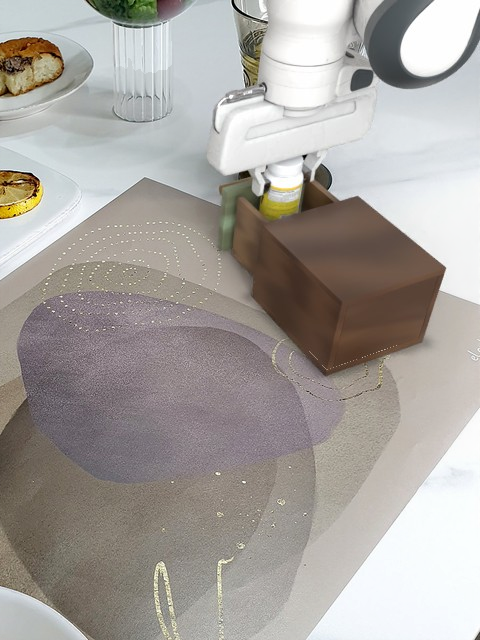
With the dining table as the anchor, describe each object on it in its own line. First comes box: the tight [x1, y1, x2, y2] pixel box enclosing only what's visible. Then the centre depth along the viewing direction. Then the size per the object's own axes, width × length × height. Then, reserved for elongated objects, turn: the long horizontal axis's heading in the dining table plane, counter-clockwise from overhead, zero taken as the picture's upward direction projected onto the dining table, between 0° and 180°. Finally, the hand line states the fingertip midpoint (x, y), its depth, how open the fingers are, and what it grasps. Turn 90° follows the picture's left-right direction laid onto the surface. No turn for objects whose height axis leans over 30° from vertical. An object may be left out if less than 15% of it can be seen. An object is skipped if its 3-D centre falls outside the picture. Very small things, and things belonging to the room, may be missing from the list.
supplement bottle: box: [259, 155, 304, 221], centre depth 103 cm, size 5×5×8 cm
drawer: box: [216, 172, 341, 278], centre depth 106 cm, size 19×12×9 cm, turn 23°
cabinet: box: [251, 195, 447, 377], centre depth 98 cm, size 16×13×11 cm
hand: (282, 186), depth 103 cm, fingers closed on supplement bottle, 5 cm apart
